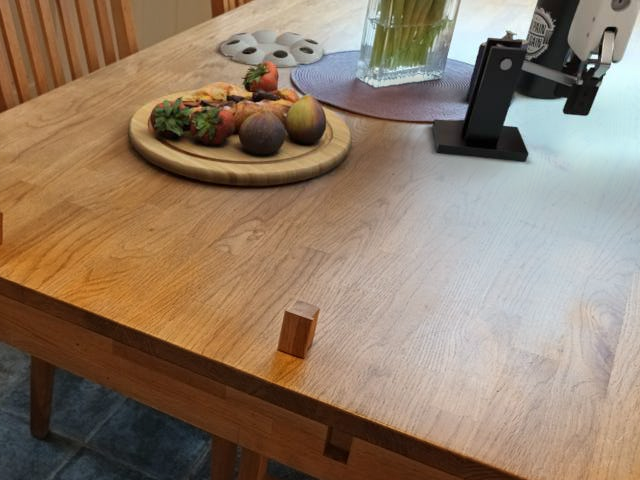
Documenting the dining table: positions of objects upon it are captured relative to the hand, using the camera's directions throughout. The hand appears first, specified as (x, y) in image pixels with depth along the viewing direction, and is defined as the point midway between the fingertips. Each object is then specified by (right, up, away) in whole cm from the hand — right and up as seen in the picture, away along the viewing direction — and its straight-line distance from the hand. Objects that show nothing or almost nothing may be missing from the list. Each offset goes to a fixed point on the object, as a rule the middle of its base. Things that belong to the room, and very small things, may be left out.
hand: (569, 104), depth 99 cm
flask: (-2, +8, +21) cm, 22 cm away
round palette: (-35, +24, +40) cm, 58 cm away
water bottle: (+9, +11, +24) cm, 28 cm away
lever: (-5, +3, -1) cm, 6 cm away
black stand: (-10, -4, +6) cm, 12 cm away
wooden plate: (-45, -4, +6) cm, 46 cm away
